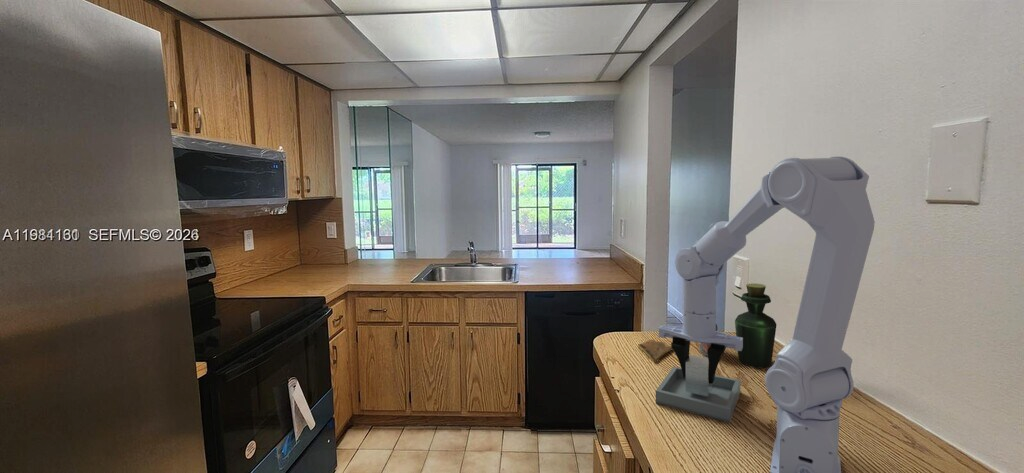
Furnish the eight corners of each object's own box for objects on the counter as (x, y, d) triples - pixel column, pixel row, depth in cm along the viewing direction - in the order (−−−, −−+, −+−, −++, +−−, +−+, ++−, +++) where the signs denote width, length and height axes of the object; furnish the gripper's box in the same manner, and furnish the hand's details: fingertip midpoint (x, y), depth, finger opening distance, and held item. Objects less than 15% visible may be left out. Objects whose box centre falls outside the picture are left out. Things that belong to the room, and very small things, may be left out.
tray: (729, 423, 70) (729, 409, 70) (655, 403, 77) (655, 390, 77) (740, 392, 80) (740, 380, 80) (674, 377, 87) (673, 366, 87)
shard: (654, 365, 94) (654, 358, 94) (624, 357, 100) (624, 350, 100) (674, 351, 102) (674, 344, 102) (645, 344, 107) (645, 337, 107)
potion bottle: (768, 373, 87) (770, 291, 85) (728, 362, 93) (729, 286, 91) (780, 361, 92) (782, 284, 90) (742, 352, 98) (743, 279, 96)
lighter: (720, 359, 95) (720, 318, 94) (704, 358, 96) (705, 317, 95) (710, 346, 103) (710, 308, 102) (696, 345, 104) (696, 307, 103)
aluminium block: (708, 396, 76) (708, 366, 75) (685, 391, 78) (685, 361, 78) (712, 388, 79) (712, 358, 79) (690, 383, 82) (690, 354, 81)
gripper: (745, 309, 75) (744, 379, 77) (665, 300, 84) (666, 362, 86) (740, 320, 70) (739, 395, 71) (655, 309, 79) (655, 375, 80)
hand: (698, 378), depth 78 cm, fingers closed on aluminium block, 4 cm apart
